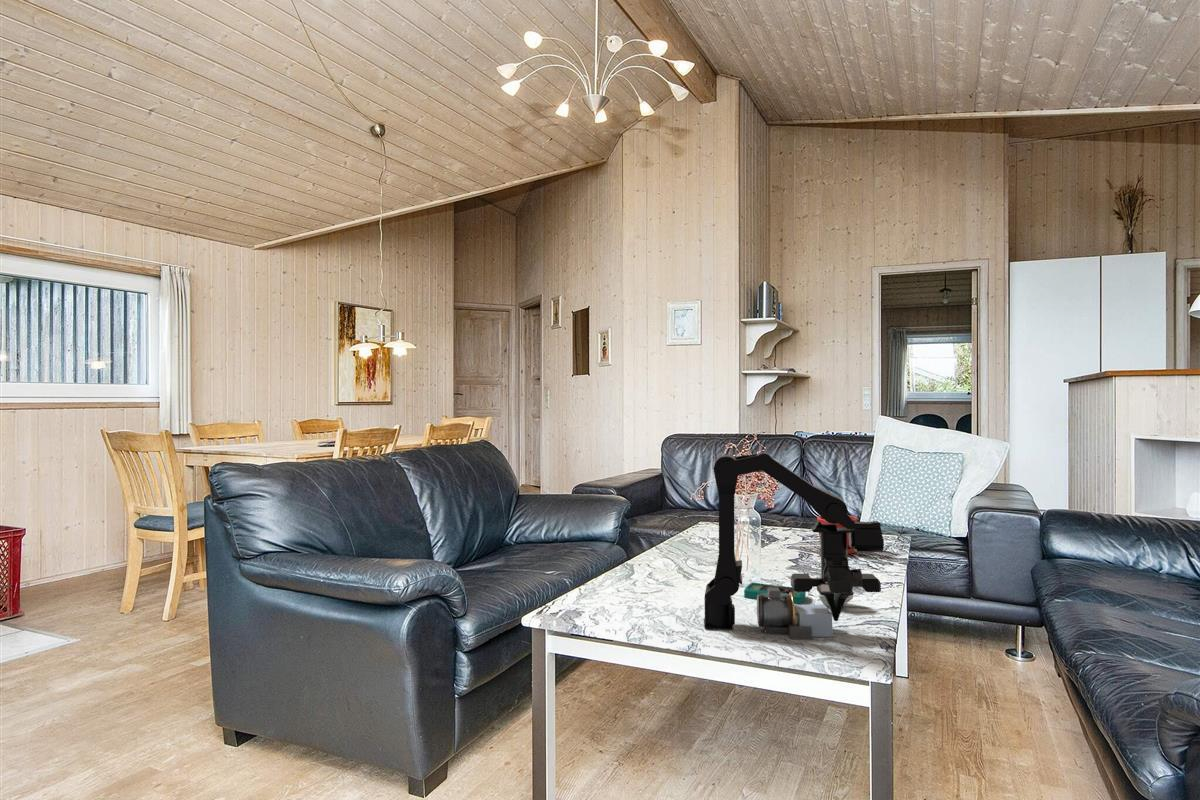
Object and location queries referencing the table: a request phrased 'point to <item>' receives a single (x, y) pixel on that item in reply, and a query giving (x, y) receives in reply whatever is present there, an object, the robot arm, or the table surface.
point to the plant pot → (823, 521)
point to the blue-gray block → (814, 619)
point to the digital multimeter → (759, 588)
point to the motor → (775, 611)
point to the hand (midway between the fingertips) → (835, 620)
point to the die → (834, 599)
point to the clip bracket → (800, 632)
